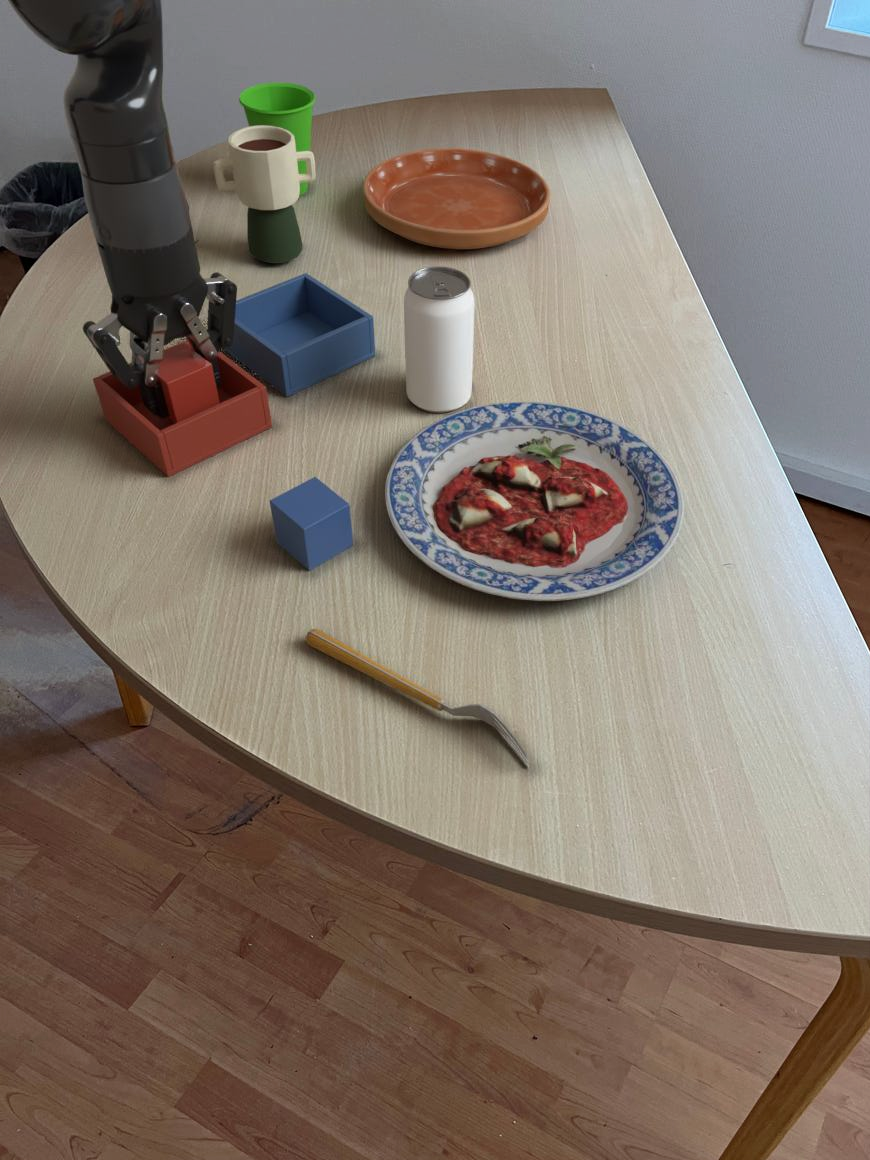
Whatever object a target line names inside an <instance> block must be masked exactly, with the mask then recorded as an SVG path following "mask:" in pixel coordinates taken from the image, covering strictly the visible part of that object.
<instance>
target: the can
mask: <svg viewBox="0 0 870 1160" xmlns="http://www.w3.org/2000/svg"><path fill="white" fill-rule="evenodd" d="M407 285H408V286H407V288H406V290H405V293H404V296H403V322H404V323H403V325H404V326H403V329H404V353H405V354H404V358H405V359H404V361H405V362H404V364H405V389H406V390H405V391H406V396H407V398H408V400H409V401H410V402H411V403H412V405H414V406H415V407H417V408H419V409H420V410H423V411H424V412H429V413H434V414H435V413H436V414H445V413H450V412H454V411H456V410H459V409H461V408H462V407H463V406H464V405H465V404H467V403H468V402H469V401H470V399H471V397H472V392H473V372H474V371H473V368H474V367H473V365H474V339H475V338H474V337H475V295H474V293H473V289H472V288H471V279H470V278H469V276H468V275H467V274H466V273H464V272H462V271H461V270H459V269H456V268H453V267H449V266H428V267H424V268H421V269H418V270H416V271H414V272H413V273H412V274H411V275H410V276H409V277H408V280H407Z"/></svg>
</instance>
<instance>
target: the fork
mask: <svg viewBox="0 0 870 1160" xmlns="http://www.w3.org/2000/svg"><path fill="white" fill-rule="evenodd" d="M305 640H306V643H307V645H308V646H310V647H312V648H314V649H316V650H318V651H320V652H322V653H324V654H326V655H327V656H329V657H331V658H334V659H335V660H337V661H340V662H341V663H344V664H345V665H347V666H349V667H351V668H353V669H355V670H357V671H360V672H361V673H364V674H366V675H367V676H369V677H371V678H373V679H375V680H377V681H379V682H381V683H383V684H385V685H387V686H389V687H391V688H393V689H395V690H397V691H399V692H400V693H403V694H405V695H407V696H409V697H411V698H413V699H415V700H417V701H419V702H421V703H423V704H425V705H427V706H428V707H431V708H432V709H435V710H437V711H444V712H446V713H448V714H449V715H451V716H453V717H472V718H475V719H478V720H480V721H483V722H484V723H487V724H488V725H490V726H492V727H493V728H495V729H496V730H498V731H499V732H500V733H501V734H502V735H503V736H504V737H505V738H506V739H507V740H508V741H509V743H510V744H511V745H512V746H513V747H514V748H515V749H516V751H517V752H518V754H519V755H520V757H521V758H522V760H523V761H524V763H525V765H526V766H527V767H528V768H530V765H529V763H530V762H529V758H528V756H527V755H526V753H525V751H524V750H523V749H522V747H521V745H520V744H519V742H518V740H517V739H516V737H514V735H513V734H512V733H511V731H510V730H509V729H508V728H507V726H506V725H505V724H504V722H503V721H502V720H501V719H500V717H499V716H498V715H497V714H496V712H494V711H493V709H491V708H490V707H487V706H485V705H483V704H481V703H473V704H472V703H471V704H466V705H460V706H455V707H452V706H450V705H448V704H446V702H445V700H444V699H443V698H441V697H439V696H437V695H435V694H433V693H432V692H430V691H428V690H427V689H425V688H423V687H421V686H419V685H418V684H416V683H414V682H412V681H411V680H409V679H407V678H405V677H403V676H402V675H400V674H398V673H397V672H395V671H393V670H391V669H389V668H388V667H386V666H384V665H382V664H380V663H379V662H377V661H375V660H373V659H371V658H370V657H368V656H367V655H365V654H362V653H361V652H359V651H358V650H355V649H353V648H352V647H351V646H349V645H346V644H345V643H343V642H341V641H339V640H338V639H336V638H334V637H332V636H330V635H329V634H327V633H325V632H324V631H323V630H320V629H318V628H313V629H310V630H309V631H307V633H306V637H305Z"/></svg>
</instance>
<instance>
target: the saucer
mask: <svg viewBox="0 0 870 1160" xmlns="http://www.w3.org/2000/svg"><path fill="white" fill-rule="evenodd" d="M362 185H363V186H362V191H363V193H362V194H363V202H364V206H365V209H366V211H367V213H368V215H370V217H371V218H372V219H373V220H374V221H375V222H376V223H378V224H379V225H380V226H381V227H383V228H385V229H387V230H389V231H390V232H392V233H394V234H396V235H398V236H400V237H402V238H404V239H406V240H409V241H412V242H413V243H416V244H421V245H425V246H429V247H434V248H439V249H449V250H475V249H484V248H489V247H496V246H499V245H503V244H506V243H509V242H511V241H513V240H515V239H518V238H520V237H523V236H524V235H527V234H528V233H530V232H532V231H533V230H535V229H536V228H538V227H539V226H540V225H541V224H542V223H543V222H544V221H545V220H546V218H547V216H548V212H549V207H550V203H551V201H550V200H551V190H550V187H549V185H548V183H547V181H546V180H545V179H544V178H543V176H541V175H540V173H538V172H537V170H536V171H535V170H534V169H533V168H531V167H529V166H528V165H526V164H525V163H522V162H520V161H519V160H516V159H513V158H511V157H507V156H504V155H502V154H498V153H493V152H490V151H484V150H478V149H472V148H471V149H469V148H457V147H443V148H442V147H441V148H439V147H438V148H428V149H419V150H413V151H408V152H404V153H402V154H398V155H395V156H392V157H390V158H388V159H386V160H383V161H381V162H380V163H378V164H377V165H375V166H374V167H373V168H372V169H371V170H370V171H369V172H368V173H367V174H366V176H365V178H364V181H363V184H362Z"/></svg>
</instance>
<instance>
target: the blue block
mask: <svg viewBox="0 0 870 1160" xmlns="http://www.w3.org/2000/svg"><path fill="white" fill-rule="evenodd" d="M269 506H270V512H271V517H272V523H273V530H274V535H275V540H276V541H275V542H276V543H277V544H278V545H279V546H280V547H281V548H283V549H284V551H286V552H287V553H289V555H291V556H292V557H293V558H294V559H295V560H296V561H298V562H299V564H301V565H302V566H303V567H304V568H305V569H307V570H308V571H311V570H313V569H315V568H316V567H318V566H320V565H323V564H324V563H326V562H327V561H329V560H331V559H332V558H334V557H336V556H338V555H339V554H342V552H345V551H346V550H348V549H350V548H351V547H354V540H353V529H352V518H351V506H350V503H349V502H347V501H346V500H345V499H344V498H342V497H341V496H340V495H339V494H337V493H336V492H335V491H334V490H332V488H330V487H329V486H328V485H327V484H325V482H322V481H321V480H320V479H319V478H318V477H317V476H313V477H311V478H310V479H307V480H306V481H304V482H302V483H300V484H298V485H296V486H294V487H293V488H290V489H289V490H287V491H285V492H283V493H281V494H279V495H277V496H275V497H273V498H272V499H270V500H269Z"/></svg>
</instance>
